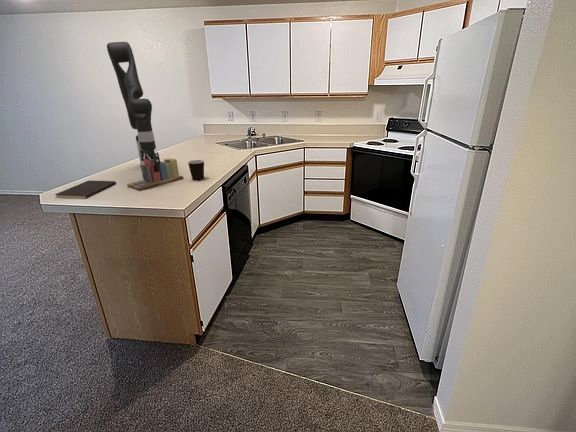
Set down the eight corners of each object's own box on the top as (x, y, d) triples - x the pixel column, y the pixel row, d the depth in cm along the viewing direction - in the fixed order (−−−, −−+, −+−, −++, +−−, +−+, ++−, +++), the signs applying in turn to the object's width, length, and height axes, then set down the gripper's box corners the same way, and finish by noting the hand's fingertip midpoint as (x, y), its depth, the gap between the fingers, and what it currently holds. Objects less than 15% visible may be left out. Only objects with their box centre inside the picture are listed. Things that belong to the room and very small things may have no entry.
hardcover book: (56, 198, 148) (54, 194, 147) (89, 184, 169) (88, 180, 168) (86, 199, 146) (85, 195, 145) (116, 185, 167) (115, 181, 166)
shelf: (127, 186, 162) (123, 166, 158) (170, 175, 181) (167, 157, 177) (139, 191, 156) (135, 170, 151) (183, 179, 175) (180, 160, 170)
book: (148, 180, 167) (143, 158, 163) (154, 178, 170) (150, 157, 166) (154, 182, 164) (150, 160, 159) (161, 180, 167) (157, 158, 162)
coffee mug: (201, 181, 170) (199, 163, 166) (187, 180, 172) (185, 163, 168) (210, 175, 181) (208, 159, 177) (197, 175, 182) (195, 158, 178)
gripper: (132, 139, 160) (138, 170, 166) (147, 142, 152) (153, 174, 158) (146, 137, 165) (151, 167, 172) (161, 140, 157) (166, 171, 164)
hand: (152, 170), depth 165 cm, fingers open, 8 cm apart
